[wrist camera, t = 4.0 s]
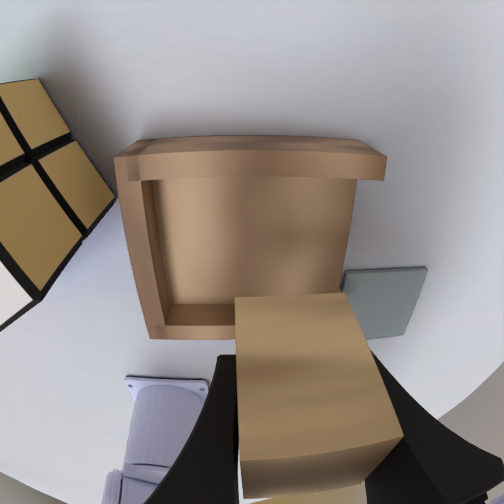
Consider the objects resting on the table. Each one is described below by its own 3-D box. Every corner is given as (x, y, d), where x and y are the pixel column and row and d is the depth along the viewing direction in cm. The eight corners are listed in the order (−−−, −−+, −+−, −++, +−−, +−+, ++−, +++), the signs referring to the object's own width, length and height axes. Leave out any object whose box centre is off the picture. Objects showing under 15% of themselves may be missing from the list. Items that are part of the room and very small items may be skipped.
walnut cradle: (357, 140, 17) (387, 157, 13) (334, 294, 23) (349, 332, 19) (137, 140, 16) (113, 157, 13) (160, 299, 22) (149, 338, 18)
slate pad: (401, 332, 25) (403, 335, 25) (329, 340, 25) (330, 343, 25) (425, 267, 22) (427, 269, 22) (345, 270, 22) (346, 274, 21)
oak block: (327, 362, 13) (360, 483, 8) (237, 368, 13) (243, 498, 8) (344, 292, 11) (403, 436, 6) (234, 297, 11) (239, 460, 6)
